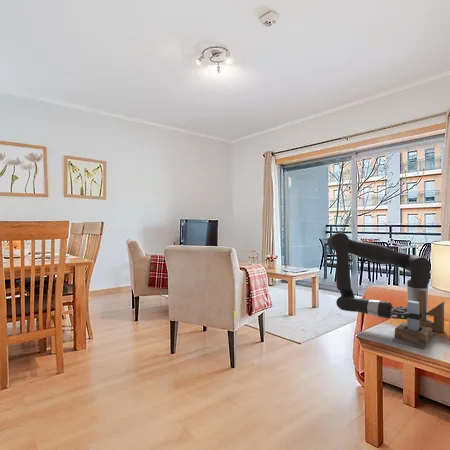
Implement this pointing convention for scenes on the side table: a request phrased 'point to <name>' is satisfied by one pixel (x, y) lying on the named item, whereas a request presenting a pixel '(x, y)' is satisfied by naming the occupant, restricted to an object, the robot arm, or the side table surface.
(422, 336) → the wooden socket base
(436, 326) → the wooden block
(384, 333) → the side table surface
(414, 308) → the rectangular block
